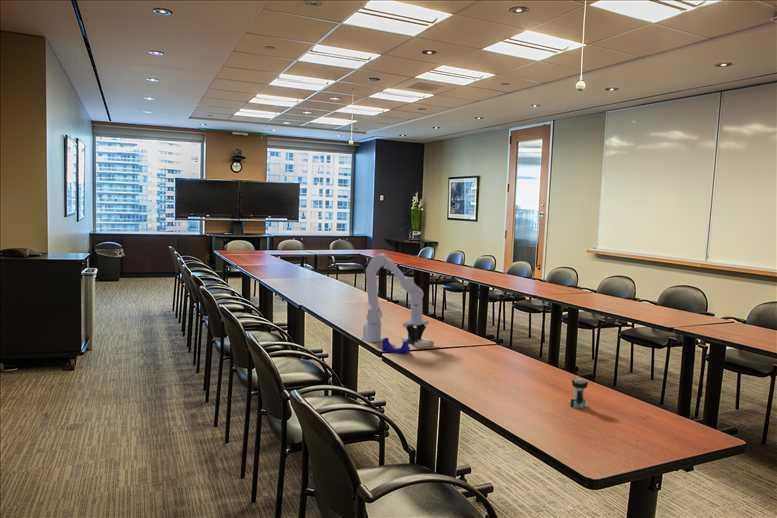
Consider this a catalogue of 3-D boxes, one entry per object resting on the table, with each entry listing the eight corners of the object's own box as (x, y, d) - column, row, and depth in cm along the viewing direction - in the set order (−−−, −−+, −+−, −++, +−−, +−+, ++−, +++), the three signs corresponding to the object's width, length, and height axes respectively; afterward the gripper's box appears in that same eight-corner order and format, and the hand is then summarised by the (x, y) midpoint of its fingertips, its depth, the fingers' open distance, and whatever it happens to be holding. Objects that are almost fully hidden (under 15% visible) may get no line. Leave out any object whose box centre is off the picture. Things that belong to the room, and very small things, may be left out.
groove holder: (402, 341, 279) (402, 337, 279) (416, 339, 284) (416, 335, 284) (418, 347, 267) (419, 343, 267) (433, 345, 272) (433, 341, 272)
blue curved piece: (409, 353, 258) (409, 340, 257) (405, 355, 254) (405, 342, 253) (386, 349, 263) (387, 336, 262) (382, 351, 259) (382, 338, 258)
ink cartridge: (407, 343, 276) (408, 327, 275) (410, 342, 277) (411, 326, 277) (413, 345, 272) (414, 328, 271) (417, 344, 273) (418, 328, 273)
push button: (581, 403, 197) (583, 376, 196) (592, 408, 192) (594, 380, 191) (566, 405, 195) (568, 377, 194) (577, 410, 190) (579, 382, 189)
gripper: (409, 315, 266) (408, 343, 267) (432, 313, 274) (431, 340, 275) (400, 313, 272) (399, 340, 273) (424, 310, 280) (422, 337, 281)
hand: (415, 339), depth 275 cm, fingers open, 4 cm apart
